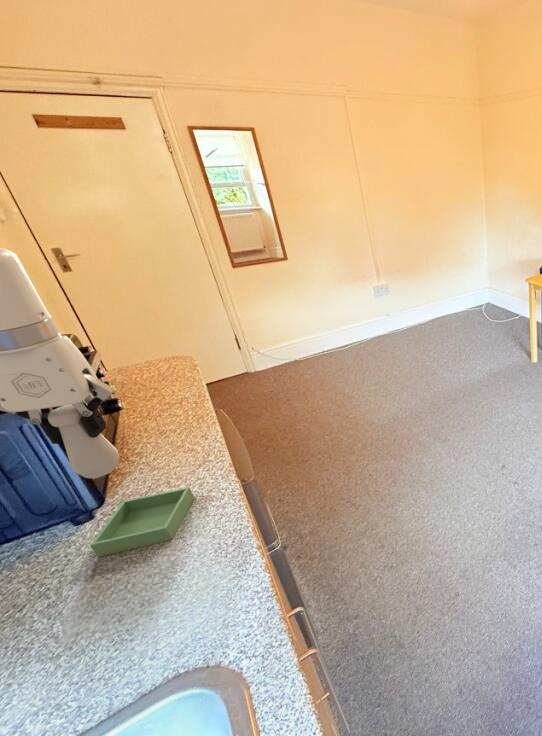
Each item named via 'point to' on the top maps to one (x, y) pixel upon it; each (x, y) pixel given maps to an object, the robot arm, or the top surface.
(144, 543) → the tray
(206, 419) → the top surface
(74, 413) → the salt shaker
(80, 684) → the top surface
